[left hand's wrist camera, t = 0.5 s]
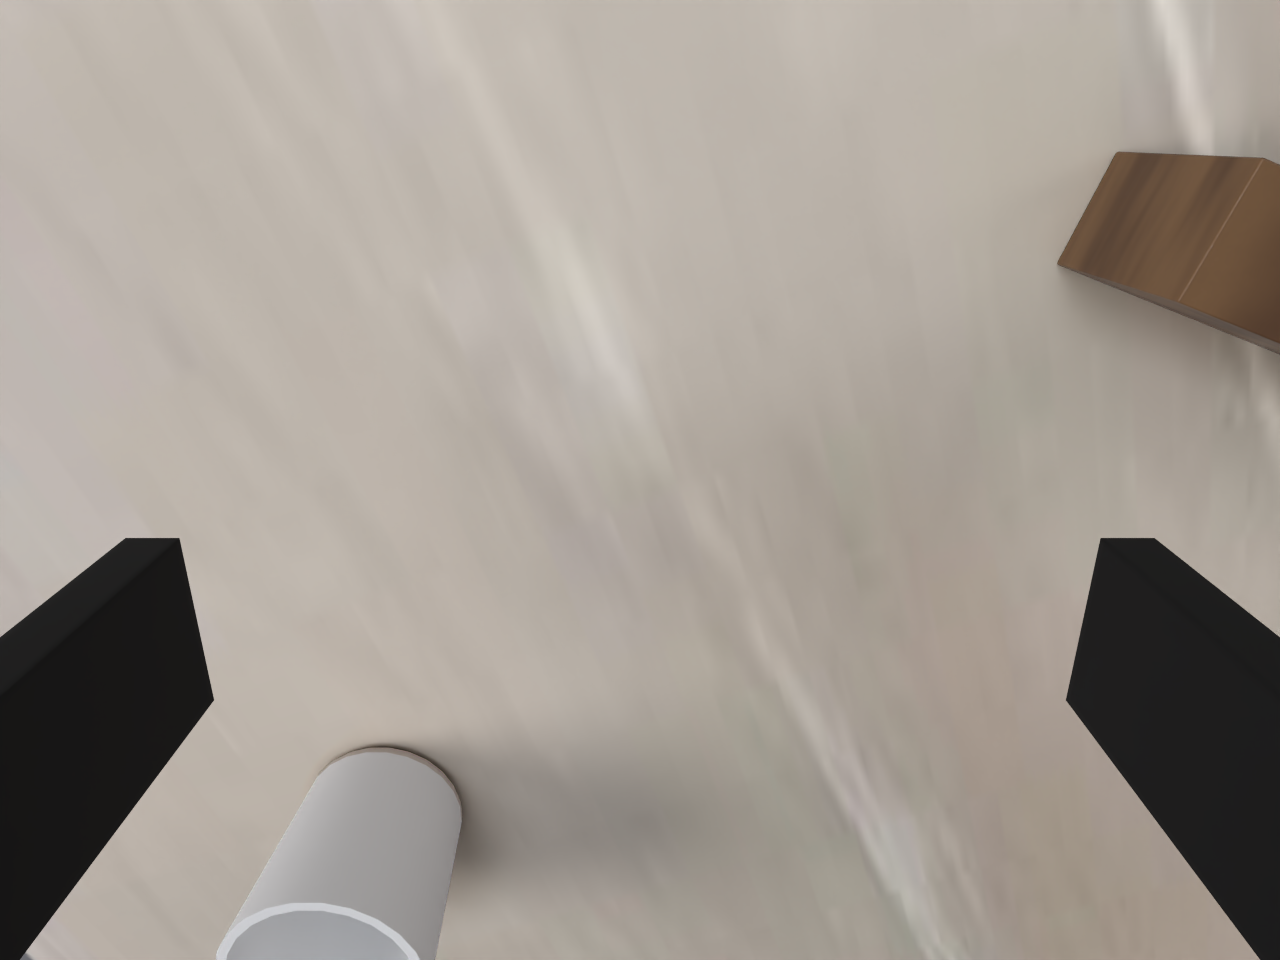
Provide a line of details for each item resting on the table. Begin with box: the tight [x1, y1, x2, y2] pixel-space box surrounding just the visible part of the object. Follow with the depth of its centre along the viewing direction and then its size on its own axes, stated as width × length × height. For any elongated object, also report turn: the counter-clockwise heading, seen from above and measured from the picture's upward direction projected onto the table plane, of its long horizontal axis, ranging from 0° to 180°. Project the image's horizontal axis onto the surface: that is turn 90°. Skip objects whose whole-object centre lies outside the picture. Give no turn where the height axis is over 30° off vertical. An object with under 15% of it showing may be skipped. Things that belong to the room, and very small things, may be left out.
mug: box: [216, 748, 463, 960], centre depth 42 cm, size 11×9×10 cm
